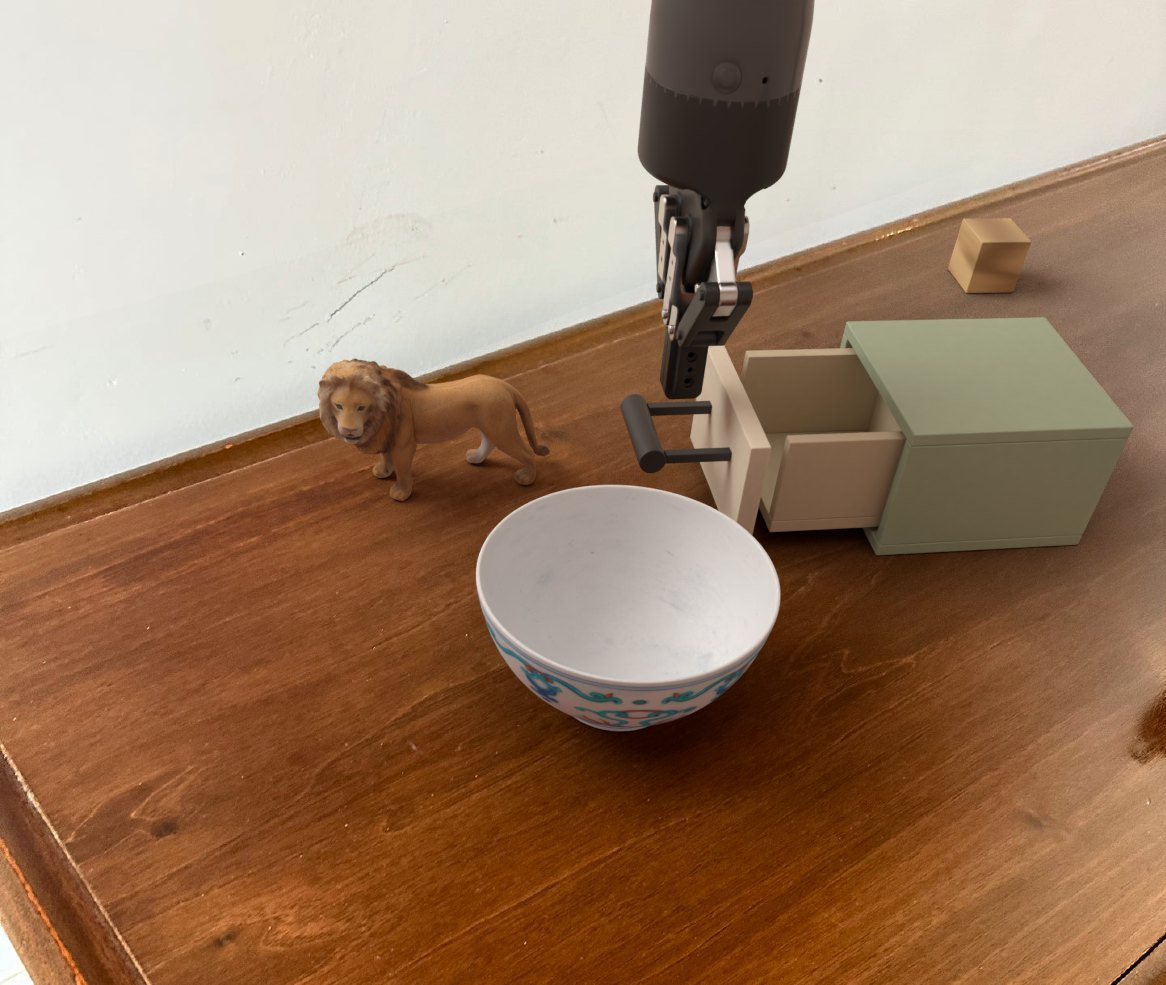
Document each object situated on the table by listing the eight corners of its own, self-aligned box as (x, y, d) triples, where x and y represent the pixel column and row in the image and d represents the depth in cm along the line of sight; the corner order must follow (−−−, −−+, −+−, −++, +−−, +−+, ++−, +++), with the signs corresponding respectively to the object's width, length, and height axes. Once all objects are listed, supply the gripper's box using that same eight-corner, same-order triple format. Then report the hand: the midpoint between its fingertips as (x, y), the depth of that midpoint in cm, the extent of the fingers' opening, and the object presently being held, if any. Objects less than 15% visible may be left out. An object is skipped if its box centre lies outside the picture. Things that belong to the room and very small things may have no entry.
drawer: (640, 550, 71) (653, 452, 66) (606, 440, 78) (616, 344, 73) (926, 535, 74) (960, 440, 69) (868, 431, 81) (894, 337, 76)
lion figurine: (342, 528, 72) (328, 394, 65) (316, 478, 75) (300, 345, 68) (564, 480, 76) (573, 350, 70) (532, 435, 79) (537, 306, 73)
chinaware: (719, 826, 58) (746, 717, 53) (433, 746, 61) (429, 633, 55) (776, 633, 68) (805, 523, 62) (528, 570, 70) (533, 458, 64)
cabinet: (875, 556, 73) (914, 434, 67) (816, 439, 81) (846, 320, 75) (1078, 545, 76) (1134, 426, 69) (1001, 432, 84) (1045, 316, 77)
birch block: (993, 268, 100) (1010, 217, 97) (1013, 292, 98) (1031, 241, 94) (947, 268, 100) (962, 218, 96) (965, 293, 97) (982, 242, 94)
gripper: (842, 120, 53) (771, 455, 66) (764, 17, 61) (714, 332, 74) (678, 120, 52) (638, 461, 65) (621, 15, 60) (596, 335, 73)
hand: (679, 391), depth 70 cm, fingers closed
